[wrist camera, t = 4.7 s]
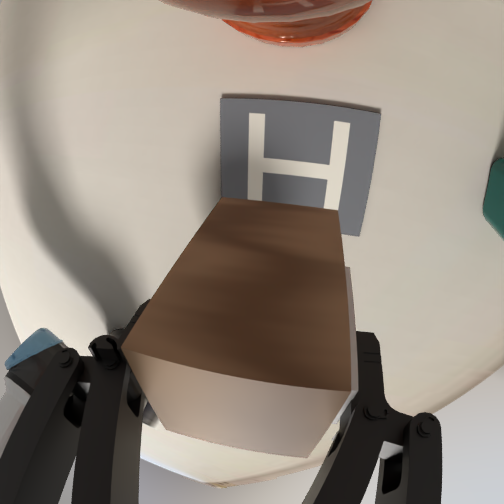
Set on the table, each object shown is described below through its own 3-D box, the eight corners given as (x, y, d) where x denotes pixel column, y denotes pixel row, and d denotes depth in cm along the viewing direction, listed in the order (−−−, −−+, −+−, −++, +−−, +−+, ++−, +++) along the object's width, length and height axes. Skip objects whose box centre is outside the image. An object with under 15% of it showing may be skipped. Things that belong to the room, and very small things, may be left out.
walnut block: (224, 285, 19) (165, 429, 10) (221, 197, 15) (120, 347, 7) (320, 298, 18) (307, 458, 9) (337, 210, 14) (351, 391, 6)
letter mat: (223, 217, 35) (222, 219, 34) (221, 98, 27) (220, 98, 26) (358, 234, 32) (359, 236, 32) (380, 113, 24) (381, 114, 24)
